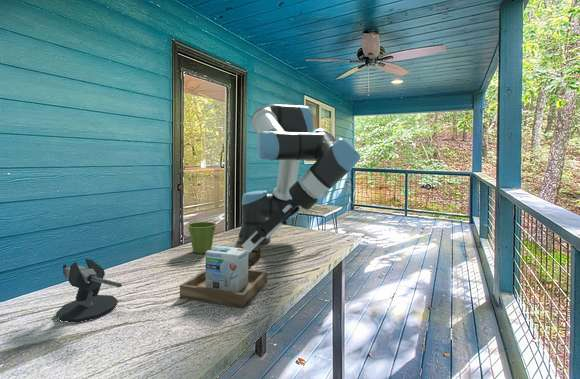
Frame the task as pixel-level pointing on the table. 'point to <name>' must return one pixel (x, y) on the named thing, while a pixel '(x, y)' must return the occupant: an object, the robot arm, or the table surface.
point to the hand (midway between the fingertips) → (255, 241)
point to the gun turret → (87, 293)
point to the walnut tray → (199, 292)
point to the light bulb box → (226, 268)
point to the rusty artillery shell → (254, 255)
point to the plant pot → (201, 236)
